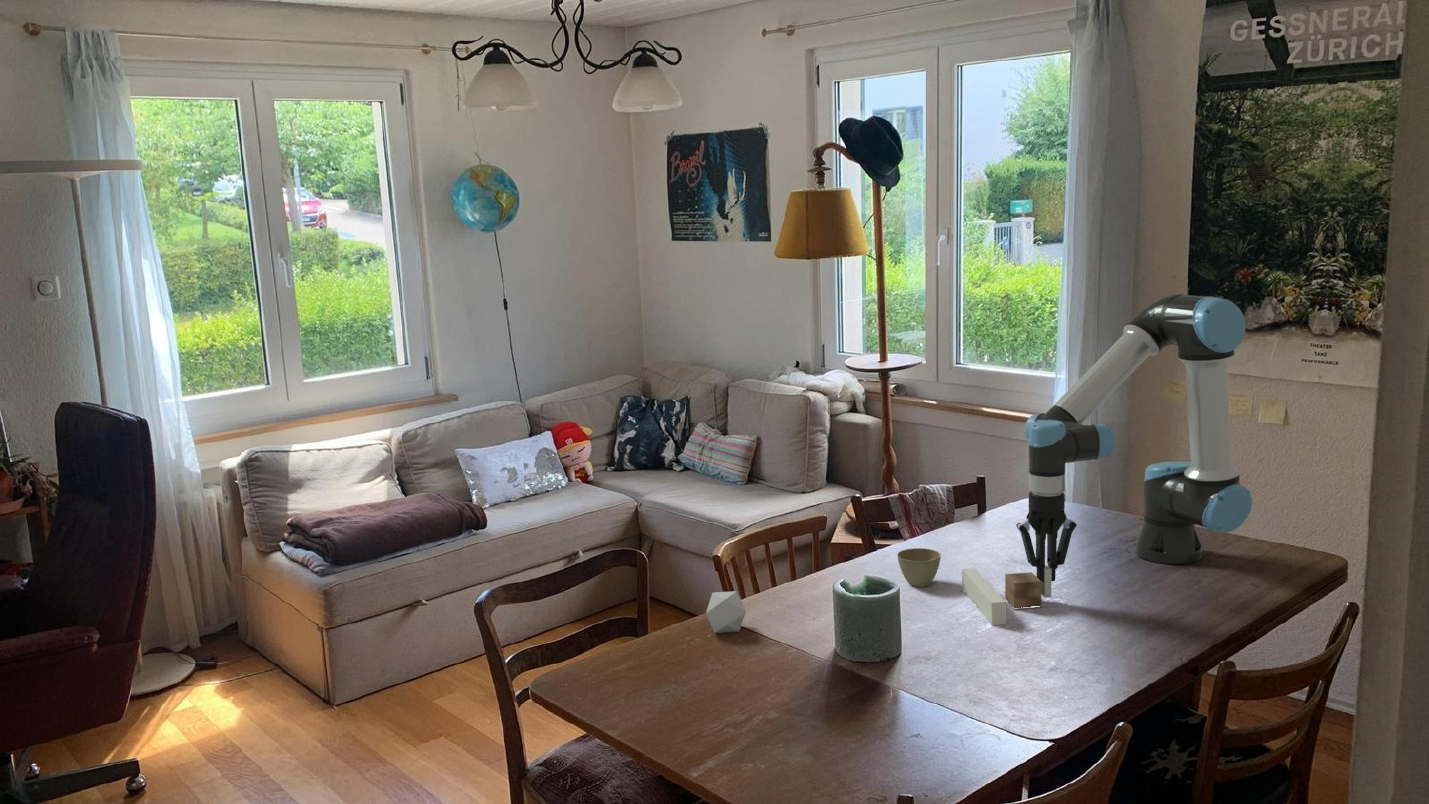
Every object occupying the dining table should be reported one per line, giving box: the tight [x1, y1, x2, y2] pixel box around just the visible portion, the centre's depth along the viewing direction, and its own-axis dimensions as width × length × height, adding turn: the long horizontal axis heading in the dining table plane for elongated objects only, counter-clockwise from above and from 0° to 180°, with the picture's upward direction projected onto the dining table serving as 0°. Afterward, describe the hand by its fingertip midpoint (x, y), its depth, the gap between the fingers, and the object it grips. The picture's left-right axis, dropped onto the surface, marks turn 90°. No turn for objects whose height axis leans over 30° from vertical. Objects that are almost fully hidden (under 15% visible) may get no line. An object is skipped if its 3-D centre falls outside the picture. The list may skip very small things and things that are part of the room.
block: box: [1004, 572, 1042, 608], centre depth 243 cm, size 6×6×6 cm
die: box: [705, 590, 747, 634], centre depth 236 cm, size 8×9×10 cm
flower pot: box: [896, 547, 942, 588], centre depth 259 cm, size 10×10×7 cm
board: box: [961, 567, 1007, 626], centre depth 243 cm, size 3×22×5 cm, turn 4°
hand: (1045, 595), depth 243 cm, fingers closed
